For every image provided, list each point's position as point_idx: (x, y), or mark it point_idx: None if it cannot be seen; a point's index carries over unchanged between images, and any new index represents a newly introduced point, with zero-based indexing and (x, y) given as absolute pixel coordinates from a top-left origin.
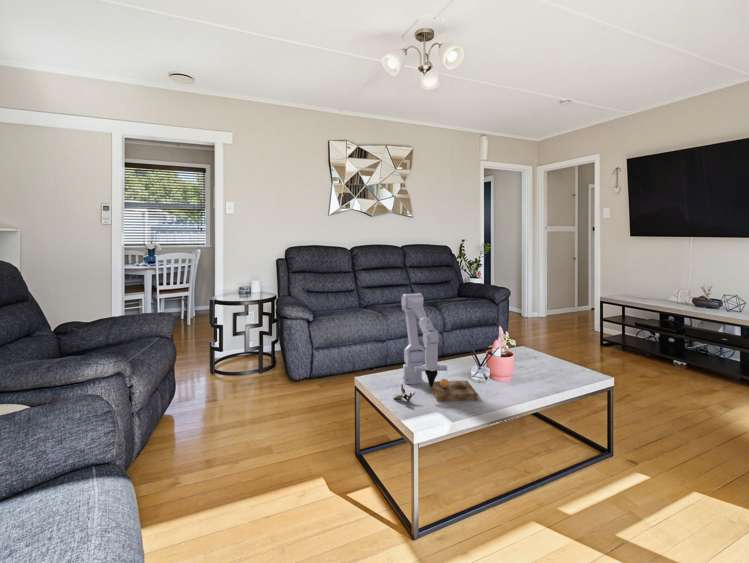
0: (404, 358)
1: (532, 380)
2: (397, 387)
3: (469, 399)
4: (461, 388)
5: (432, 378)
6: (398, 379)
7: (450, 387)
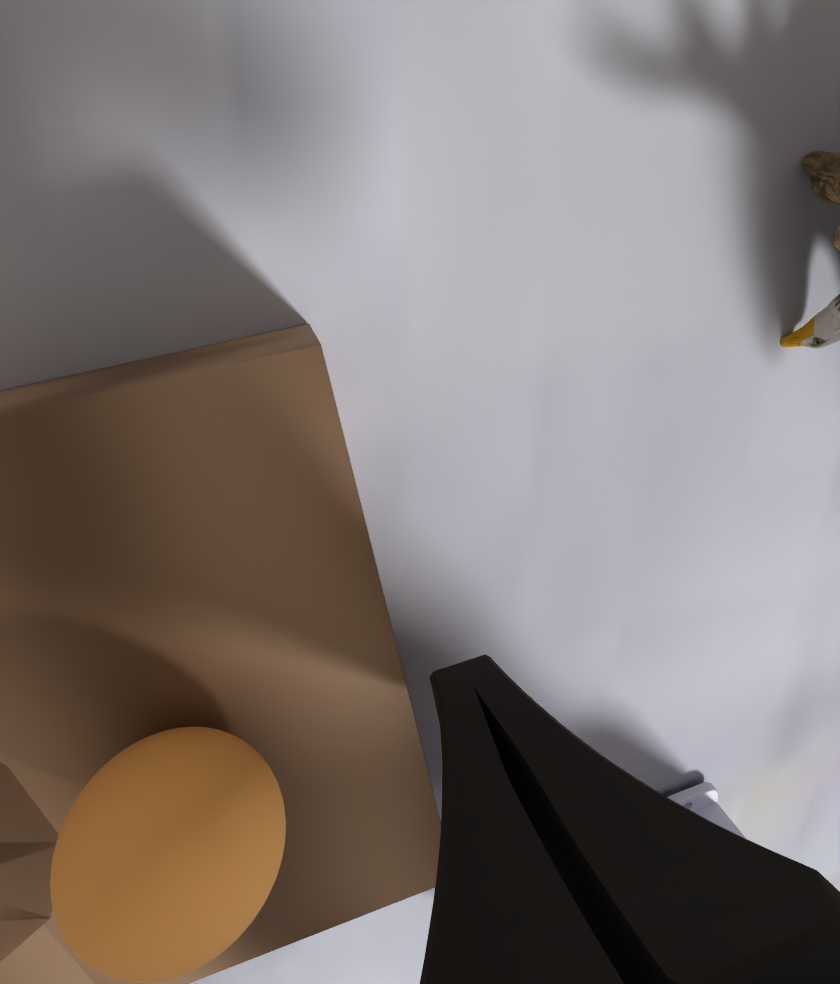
0: None
1: None
2: (799, 682)
3: None
4: None
5: (523, 829)
6: None
7: (50, 800)
